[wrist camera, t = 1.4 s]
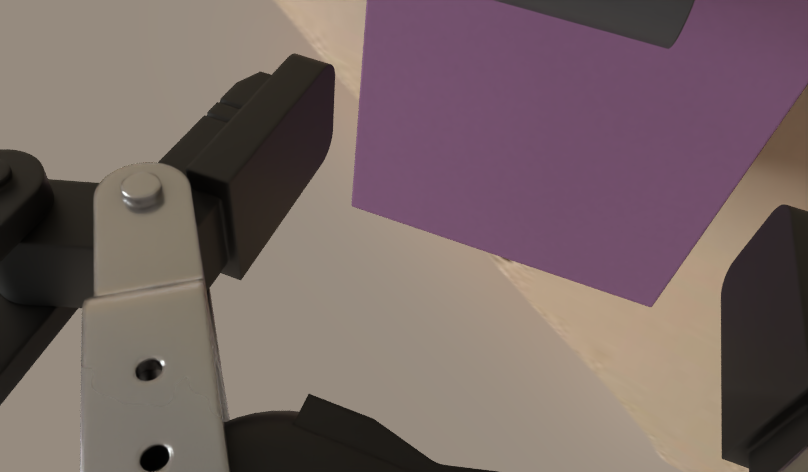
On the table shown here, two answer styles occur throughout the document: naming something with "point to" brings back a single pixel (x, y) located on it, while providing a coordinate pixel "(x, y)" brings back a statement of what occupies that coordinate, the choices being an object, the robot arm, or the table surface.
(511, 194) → the lid
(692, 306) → the table surface
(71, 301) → the robot arm
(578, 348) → the table surface
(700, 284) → the table surface
